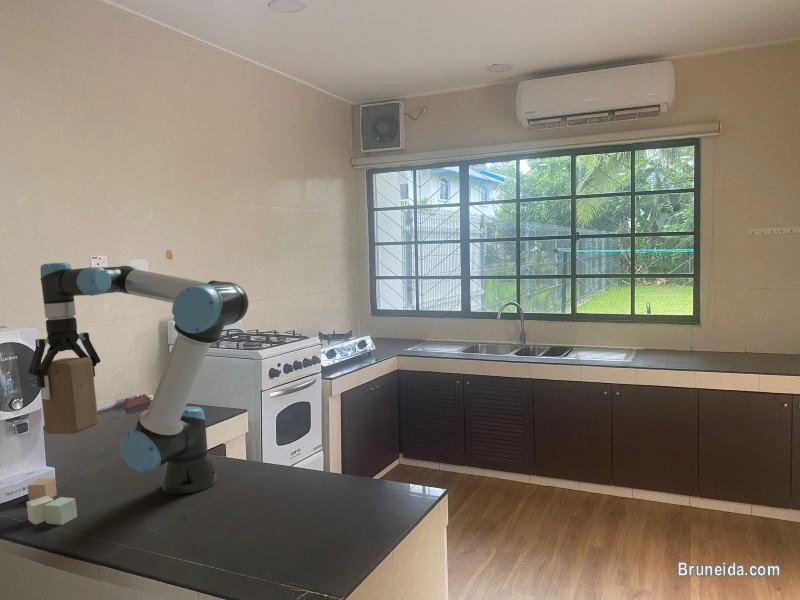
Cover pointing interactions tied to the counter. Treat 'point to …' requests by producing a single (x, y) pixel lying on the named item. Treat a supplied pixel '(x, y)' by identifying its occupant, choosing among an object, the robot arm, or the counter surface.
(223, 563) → the counter surface
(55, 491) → the cube tan
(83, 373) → the wooden block
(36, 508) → the cube cream
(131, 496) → the counter surface
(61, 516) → the cube sage
